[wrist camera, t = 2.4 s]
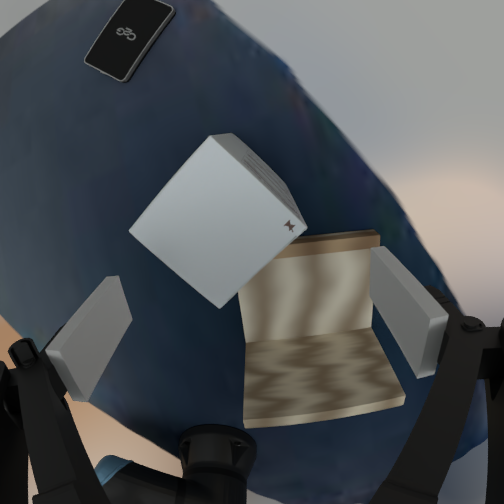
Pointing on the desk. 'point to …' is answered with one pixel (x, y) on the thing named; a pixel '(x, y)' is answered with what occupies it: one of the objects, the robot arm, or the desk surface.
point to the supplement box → (220, 218)
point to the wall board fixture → (314, 335)
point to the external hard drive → (128, 37)
